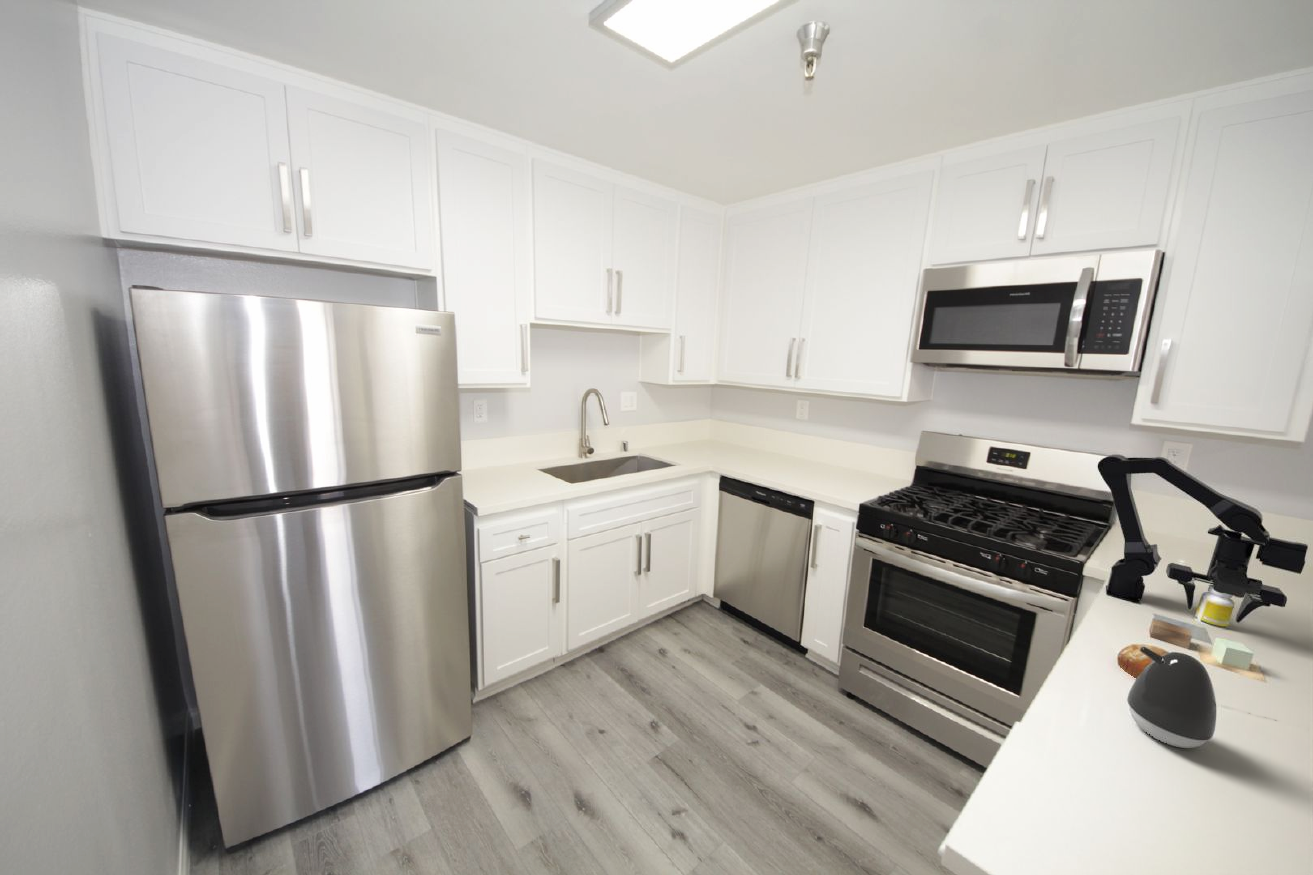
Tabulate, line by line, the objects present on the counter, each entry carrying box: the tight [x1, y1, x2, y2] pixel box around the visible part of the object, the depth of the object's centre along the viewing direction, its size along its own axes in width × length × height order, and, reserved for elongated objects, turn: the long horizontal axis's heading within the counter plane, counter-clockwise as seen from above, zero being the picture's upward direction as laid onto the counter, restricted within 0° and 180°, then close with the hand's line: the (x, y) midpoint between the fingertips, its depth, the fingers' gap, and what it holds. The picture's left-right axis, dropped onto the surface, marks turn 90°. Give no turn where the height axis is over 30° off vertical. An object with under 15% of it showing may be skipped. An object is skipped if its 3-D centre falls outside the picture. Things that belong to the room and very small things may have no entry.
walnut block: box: [1148, 617, 1193, 650], centre depth 111 cm, size 6×4×4 cm, turn 47°
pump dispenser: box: [1126, 647, 1218, 749], centre depth 81 cm, size 10×10×15 cm
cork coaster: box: [1194, 643, 1268, 683], centre depth 104 cm, size 9×9×1 cm
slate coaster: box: [1152, 613, 1213, 645], centre depth 116 cm, size 9×9×1 cm
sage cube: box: [1211, 637, 1254, 670], centre depth 103 cm, size 4×4×4 cm
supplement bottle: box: [1194, 584, 1235, 630], centre depth 119 cm, size 5×5×10 cm
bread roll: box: [1116, 643, 1170, 680], centre depth 98 cm, size 10×10×8 cm
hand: (1212, 614), depth 119 cm, fingers open, 8 cm apart
